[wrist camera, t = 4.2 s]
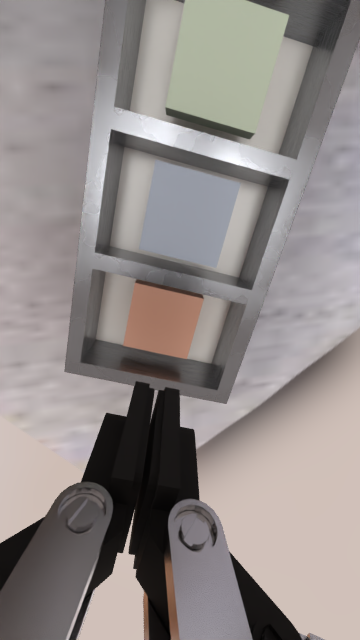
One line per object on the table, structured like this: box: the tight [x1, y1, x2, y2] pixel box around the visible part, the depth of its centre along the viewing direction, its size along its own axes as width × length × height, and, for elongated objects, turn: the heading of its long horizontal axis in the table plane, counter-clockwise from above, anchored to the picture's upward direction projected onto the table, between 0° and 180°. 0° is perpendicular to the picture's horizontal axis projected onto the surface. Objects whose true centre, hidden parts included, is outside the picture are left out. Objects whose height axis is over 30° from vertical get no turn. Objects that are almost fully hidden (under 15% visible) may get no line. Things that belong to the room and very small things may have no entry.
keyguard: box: [64, 0, 360, 404], centre depth 18 cm, size 24×12×4 cm, turn 166°
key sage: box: [165, 0, 289, 139], centre depth 15 cm, size 5×5×2 cm
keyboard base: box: [96, 0, 313, 364], centre depth 21 cm, size 24×12×2 cm, turn 166°
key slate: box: [139, 160, 241, 268], centre depth 18 cm, size 5×5×2 cm
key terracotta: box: [123, 279, 204, 359], centre depth 21 cm, size 5×5×2 cm
